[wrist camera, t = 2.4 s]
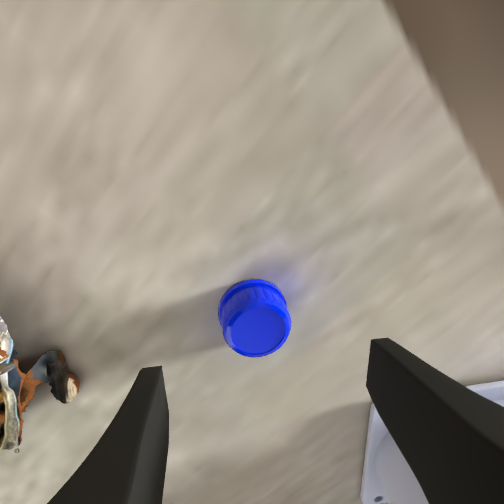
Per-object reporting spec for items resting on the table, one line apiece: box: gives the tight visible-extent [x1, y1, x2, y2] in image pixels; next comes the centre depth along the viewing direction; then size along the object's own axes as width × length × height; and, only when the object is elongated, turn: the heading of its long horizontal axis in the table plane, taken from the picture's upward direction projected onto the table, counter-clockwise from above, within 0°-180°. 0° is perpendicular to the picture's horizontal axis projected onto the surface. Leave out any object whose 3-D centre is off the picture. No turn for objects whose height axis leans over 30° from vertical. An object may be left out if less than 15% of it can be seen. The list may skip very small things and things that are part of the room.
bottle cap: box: [218, 279, 291, 357], centre depth 16 cm, size 3×3×2 cm
